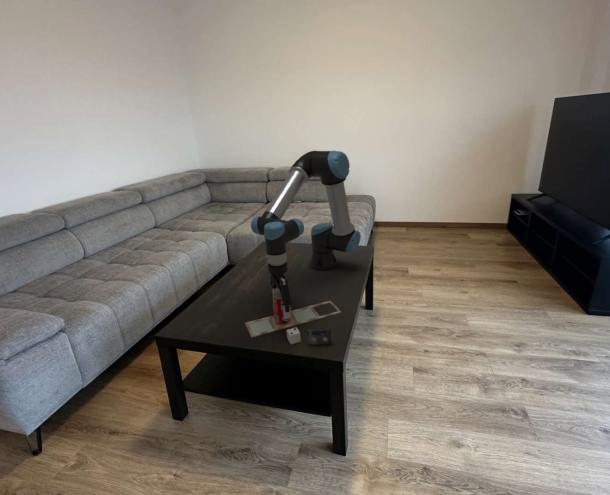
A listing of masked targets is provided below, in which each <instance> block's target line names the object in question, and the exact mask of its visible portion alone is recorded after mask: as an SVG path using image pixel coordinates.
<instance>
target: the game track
mask: <svg viewBox="0 0 610 495" xmlns="http://www.w3.org/2000/svg"><path fill="white" fill-rule="evenodd" d="M328 304H330V305H331V306H332V307H333V309H335V310H336V311H334V312H330V313H327V314H323V315H320V314H319V313H318V312H317V311H316V310H315V308H316V307H317V308H318V307H320V306H324V305H328ZM341 313H342V311H341V310H340V309H339V307H337V305H336V304H335V303H334V302H333V301H332V300H327V301H324V302H319V303H316V304H313V305H309V306H305V307H301V308H296V309H294V310H292V309H291V320H290V321H289V322H287V323H285V324H280V323H277V322H276V321H275V318H274V314H272V315H270V316H265V317H263V318H258V319H254V320H251V321H247V322H244V323H245V324H244V325H245V327H246V329H247V332H248V334H249V336H250V338H256V337H259V336H263V335H267V334H269V333H274V332H277V331H280V330H281V331H282V330H284V329H287V328H292V327H295V326H296V327H297V326H299V325H302V324H304V323H305V324H306V323H310V322H313V321H317V320H320V319H324V318H328V317H331V316H334V315H338V314H341Z"/></svg>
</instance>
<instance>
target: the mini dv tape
mask: <svg viewBox="0 0 610 495" xmlns="http://www.w3.org/2000/svg"><path fill="white" fill-rule="evenodd" d="M331 333H332V332H331V328H317V329H316V328H315V329H314V328H313V329H312V328H311V329H308V328H307V337H308V338H307V340H308V345H309V346H311V345H312V346H314V345H316V346H317V345H331V344H332V339H331Z"/></svg>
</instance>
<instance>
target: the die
mask: <svg viewBox="0 0 610 495" xmlns="http://www.w3.org/2000/svg"><path fill="white" fill-rule="evenodd" d="M286 337H287V340H288V342H289V344H290V345H294V344H298V343H301V342H302V340H301V332H300V330H299V329H298V327H297V326H296V327H293V328H292V327H291V328H289V329H286Z"/></svg>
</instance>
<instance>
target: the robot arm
mask: <svg viewBox="0 0 610 495" xmlns="http://www.w3.org/2000/svg"><path fill="white" fill-rule="evenodd" d="M350 167H351V166H350V160H349V158H348V156H347V155H346V153H344V152H343V151H340V150H338V151H337V150H311V151H308V152H306V153H304V154H302V155H301V156H300V157H299V158H298V159H297V160H296V161H294V163H293V164H292V165H291V167H290V169H289V171H288V172H289V174H288V175H287V177H286V178H285V180H284V182H282V185H281V186H280V187H279V189H278V191H277V192H276V194H275V196H274V197H273V199H272V200H271V201H270V202H269V204H268V206H267V207H266V209H265V210H264V211H263V213H262V215H261V216H255V217H253V219H251V223H250V228H251V231H252V232H253V233H254V234H256V235H260V236H263V237H264V242H265V250H266V252H265V253H266V256H265V259H267V270H268V274H270V279H269V281H270V282H269V284H270V286H271V288H272V289H271V290H272V298H273V297H274V294H275V293H277V292H280V294H281V297H282V301H283V304H282V306H283V315H284V319H288V318H291V312H290V306H291V305H293V303H292V299H291V295H290V289H289V284H288V279H287V278H286V276H285V274H286V273H287V272H288V269H289V268H288V262H287V261H288V256H287V246H286V245H287V244H288V243H290V242H292V241H293V240H295V239H298V238H299V237H300V236H302V235H303V234H304V232H305V225H304V223H303V221H302V220H300V219H299V218H295V217H293V218H291V219H289V220H285V219H282V218H283V217H284V215H285V213H286V212H287V210H288V208H289V207H290V206H291V203H292V202H293V200H294V199H295V198H296V196H297V194H298V193H299V191H300V189H301V188H302V186H303V185H304V184H306V183H307V182H308V181H309V180H310V178H313V177H314V178H320V182H321V184H322V185H323V186H325V190H326V195H327V200H328V204H329V210H330V214H331V219H332V223H330V222H322V223H317V224H315V225H313V226H312V227H311V232H310V235H311V236H310V237H311V251H312V252H311V256H310V258H309V259H310V260H309V267H310V268H311V269H312V270H316V271H329V270H332V269H334V268H337V266H338V260H337V256H336V254H335V251H338V252H341V253H343V252H344V253H346V254H348V253H349V254H353V253H354V252H356V251H357V249H358V248H359V245H360V243H361V232H360V231H359V230H356V229H355V228H356V227H355V225H354V223H352V222H351V217H350V216H351V215H350V210H349V206H348V199H347V194H346V188H345V181H346V180H347V177H348V175H349V173H350Z"/></svg>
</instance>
